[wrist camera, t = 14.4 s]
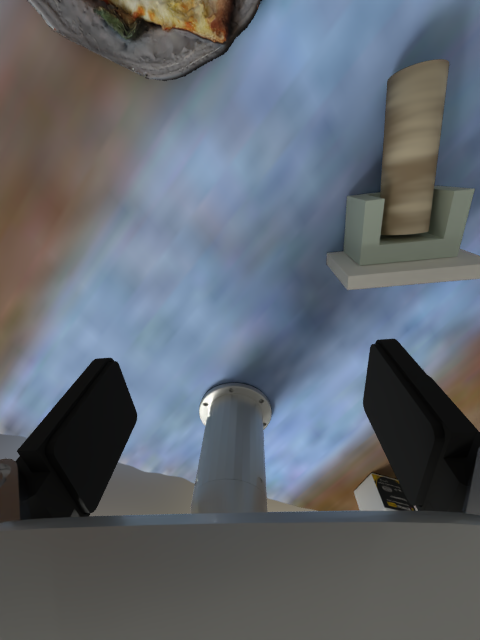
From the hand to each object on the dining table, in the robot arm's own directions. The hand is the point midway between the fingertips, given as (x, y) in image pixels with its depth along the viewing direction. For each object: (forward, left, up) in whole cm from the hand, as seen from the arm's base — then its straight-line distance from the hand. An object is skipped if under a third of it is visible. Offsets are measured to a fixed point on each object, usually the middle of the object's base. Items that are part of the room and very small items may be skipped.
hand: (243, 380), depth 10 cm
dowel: (+6, -17, -27) cm, 32 cm away
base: (-4, -17, -28) cm, 33 cm away
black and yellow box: (-54, -22, -28) cm, 65 cm away
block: (0, -17, -28) cm, 33 cm away
